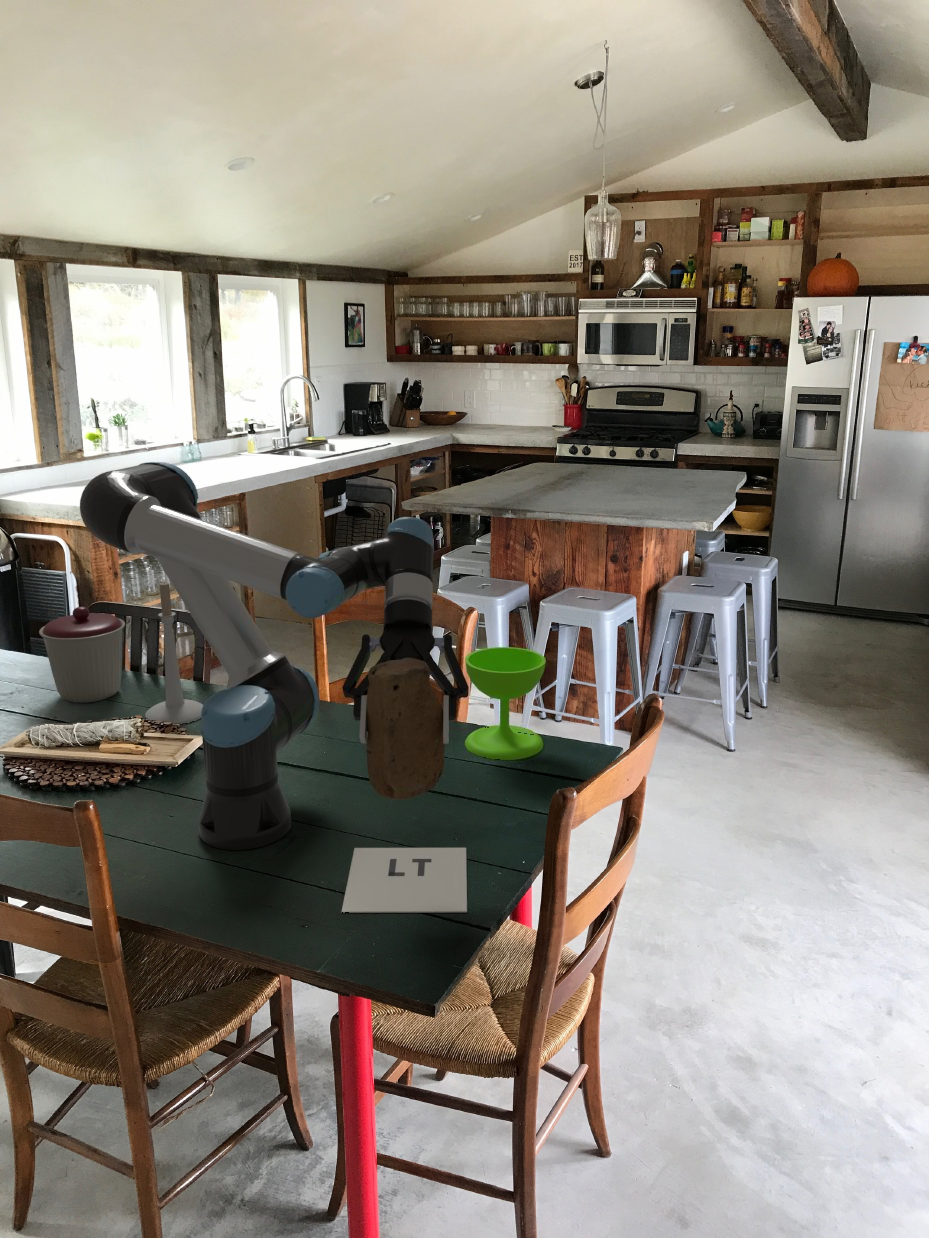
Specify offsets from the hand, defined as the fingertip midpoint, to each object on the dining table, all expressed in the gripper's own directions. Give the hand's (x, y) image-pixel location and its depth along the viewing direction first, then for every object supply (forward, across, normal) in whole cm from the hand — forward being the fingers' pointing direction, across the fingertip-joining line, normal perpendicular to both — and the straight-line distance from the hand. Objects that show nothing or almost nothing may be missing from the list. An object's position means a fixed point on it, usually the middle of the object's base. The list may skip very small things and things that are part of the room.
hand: (404, 740), depth 141 cm
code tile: (+16, 0, -17) cm, 23 cm away
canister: (-39, +77, -73) cm, 113 cm away
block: (+5, 0, -8) cm, 10 cm away
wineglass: (-20, -17, -53) cm, 59 cm away
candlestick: (-31, +54, -64) cm, 90 cm away
